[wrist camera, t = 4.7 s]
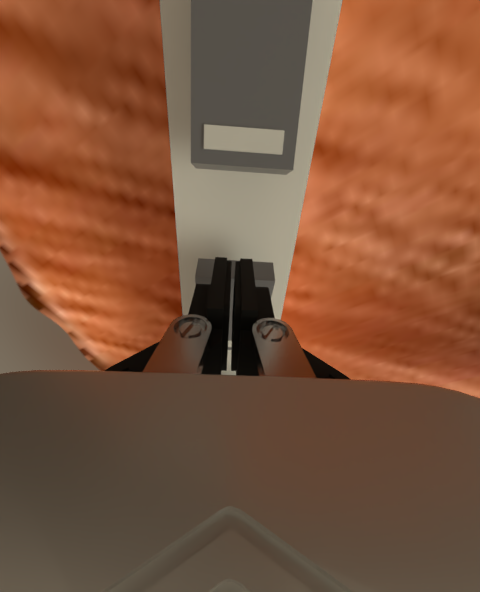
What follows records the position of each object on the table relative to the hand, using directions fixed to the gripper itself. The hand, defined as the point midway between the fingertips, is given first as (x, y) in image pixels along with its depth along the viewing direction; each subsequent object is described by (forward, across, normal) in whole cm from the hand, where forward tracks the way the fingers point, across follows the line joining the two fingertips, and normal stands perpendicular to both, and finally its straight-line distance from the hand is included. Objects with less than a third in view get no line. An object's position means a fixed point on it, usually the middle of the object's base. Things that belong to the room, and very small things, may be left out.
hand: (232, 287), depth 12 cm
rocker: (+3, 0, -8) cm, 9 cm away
